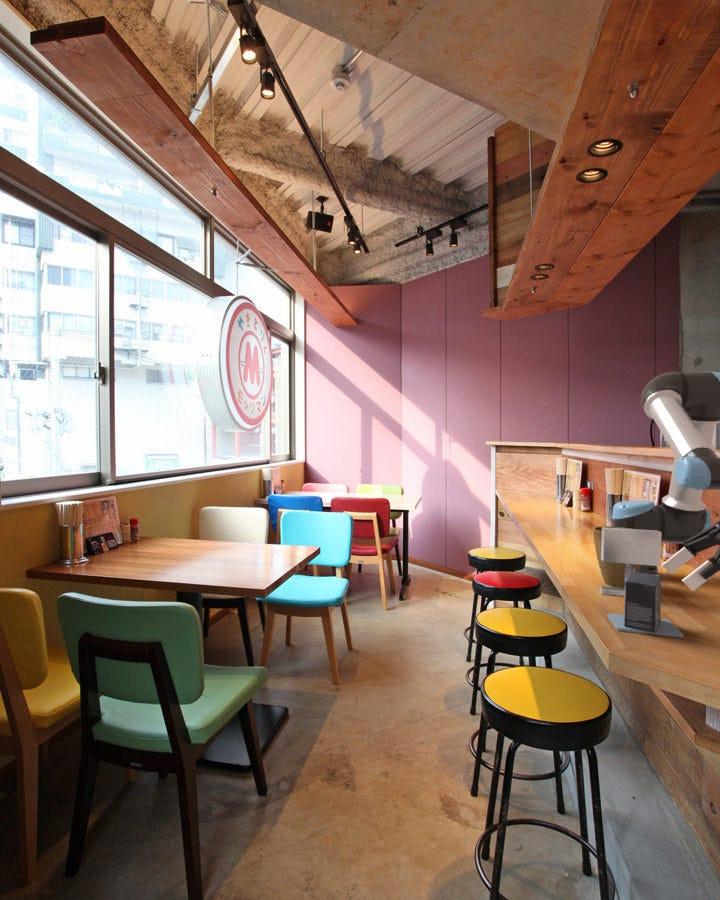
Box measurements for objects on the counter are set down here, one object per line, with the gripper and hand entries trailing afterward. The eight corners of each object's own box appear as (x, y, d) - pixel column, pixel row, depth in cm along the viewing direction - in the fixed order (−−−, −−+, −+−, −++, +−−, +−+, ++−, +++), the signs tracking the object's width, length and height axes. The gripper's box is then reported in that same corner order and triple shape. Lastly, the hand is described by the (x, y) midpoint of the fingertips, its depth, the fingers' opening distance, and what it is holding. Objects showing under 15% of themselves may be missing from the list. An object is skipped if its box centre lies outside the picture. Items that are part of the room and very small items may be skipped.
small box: (629, 613, 119) (630, 570, 119) (661, 620, 115) (662, 575, 115) (622, 626, 110) (623, 579, 110) (656, 633, 107) (657, 585, 106)
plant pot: (588, 586, 144) (590, 531, 144) (593, 575, 157) (595, 524, 157) (648, 595, 137) (650, 537, 136) (648, 582, 149) (650, 529, 149)
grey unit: (599, 590, 140) (601, 526, 140) (655, 595, 136) (657, 530, 136) (602, 594, 137) (604, 528, 136) (659, 599, 133) (661, 532, 133)
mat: (607, 615, 119) (607, 613, 119) (668, 621, 116) (668, 619, 116) (617, 630, 110) (617, 627, 110) (684, 637, 106) (684, 635, 106)
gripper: (807, 538, 93) (712, 608, 98) (744, 518, 117) (670, 575, 122) (774, 508, 95) (682, 579, 99) (719, 494, 119) (647, 552, 123)
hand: (675, 577), depth 110 cm, fingers open, 13 cm apart
